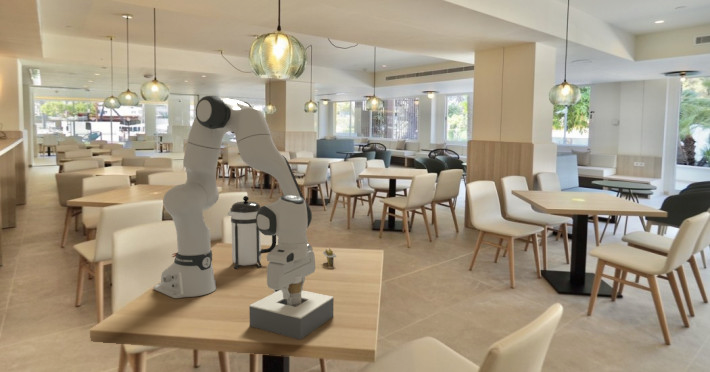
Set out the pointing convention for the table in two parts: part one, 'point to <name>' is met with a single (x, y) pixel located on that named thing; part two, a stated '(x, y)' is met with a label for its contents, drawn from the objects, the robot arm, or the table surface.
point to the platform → (329, 256)
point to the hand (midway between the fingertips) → (293, 295)
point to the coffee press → (246, 234)
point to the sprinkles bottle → (295, 292)
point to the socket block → (291, 314)
